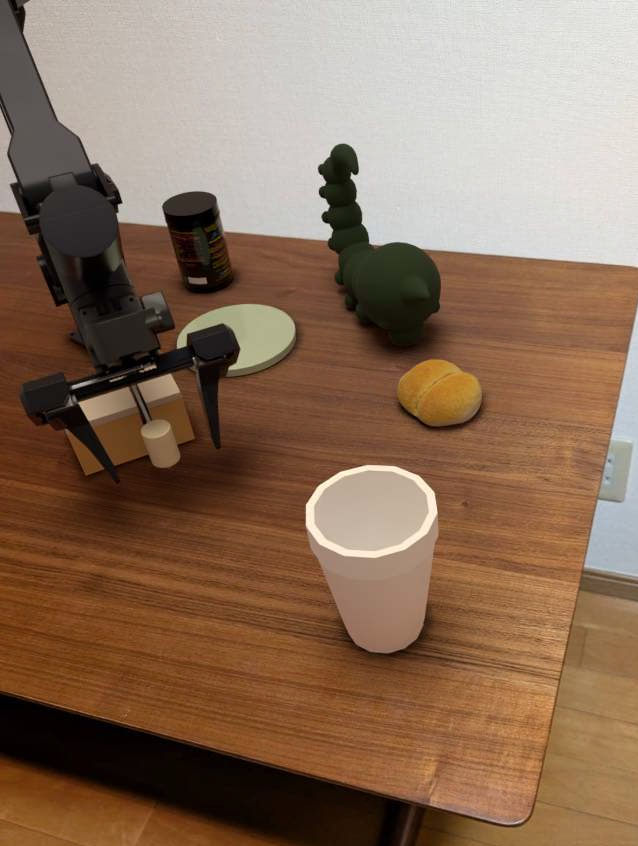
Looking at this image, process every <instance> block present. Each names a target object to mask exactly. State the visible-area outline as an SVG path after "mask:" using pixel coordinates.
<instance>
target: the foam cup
mask: <svg viewBox="0 0 638 846" xmlns="http://www.w3.org/2000/svg"><path fill="white" fill-rule="evenodd" d="M305 528H306V533H307V537H308V542H309V547H310V550H311V551H312V553H313V554H314V556H315V557H316V558H317V560H318V563H319V566H320V568H321V571H322V573H323V576H324V578H325V580H326V583H327V586H328V587H329V590H330V593H331V595H332V597H333V600H334V602H335V605H336V608H337V610H338V612H339V614H340V617H341V619H342V623H343V625H344V628H345V629H346V631H347V633H348V635H349V636H350V638H351V639H352V641H353V642H354V644H355V645H356V646H358V647H360V648H362V649H364V650H366V651H367V652H370V653H377V654H378V653H379V654H390V653H391V654H392V653H394V652H397V651H400V650H405V649H406V648H407V647H408V646H410V645H411V644H412V643H413V642H415V641H416V640H417V639H418V638H419V636H420V633H421V632H422V630H423V627H424V622H425V618H426V612H427V603H428V596H429V588H430V582H431V581H430V580H431V576H432V575H431V574H432V567H433V559H434V552H435V546H436V545H435V544H436V542H437V540H438V538H439V516H438V507H437V500H436V493H435V491H434V490H433V489H432V488H431V487H430V486H429V485H428V484H427V482H426V481H425V480H424V479H423V478H422V477H421V476H420V475H418V474H415V473H413V472H410V471H409V470H406V469H403V468H401V467H399V466H396V465H395V466H394V465H375V464H366V465H362V466H358V467H354V468H350V469H345V470H342V471H339V472H338V473H336V474H334V475H333V476H331V477H330V478H329V479H327V480H326V481H324V482H322V483H321V484H319V485H318V486H317V487H316V489H315V491H314V492H313V493H312V495H311V497H310V498H309V499H308V501H307V503H306V504H305Z"/></svg>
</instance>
